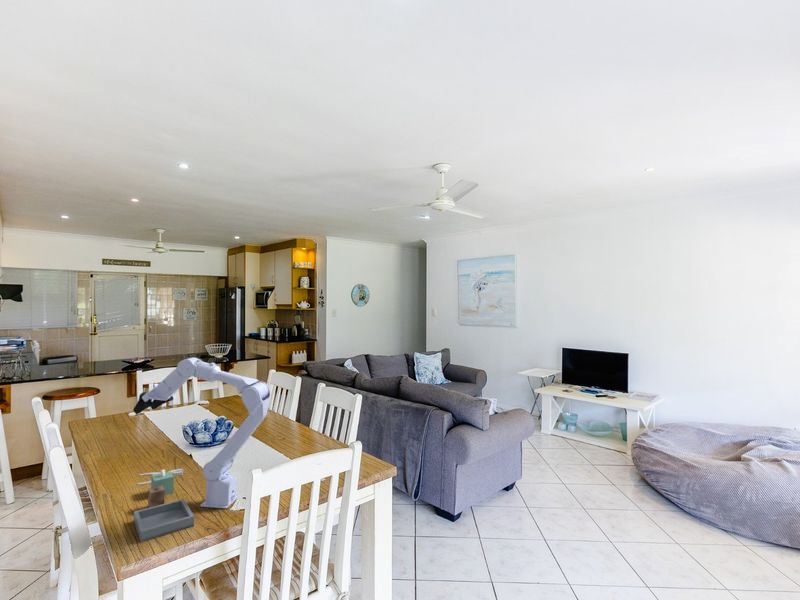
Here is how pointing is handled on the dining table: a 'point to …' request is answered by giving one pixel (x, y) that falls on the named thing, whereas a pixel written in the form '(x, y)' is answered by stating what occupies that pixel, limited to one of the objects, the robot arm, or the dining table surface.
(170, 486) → the green block
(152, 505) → the walnut block
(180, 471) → the pliers
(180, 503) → the tray
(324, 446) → the dining table surface
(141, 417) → the dining table surface
